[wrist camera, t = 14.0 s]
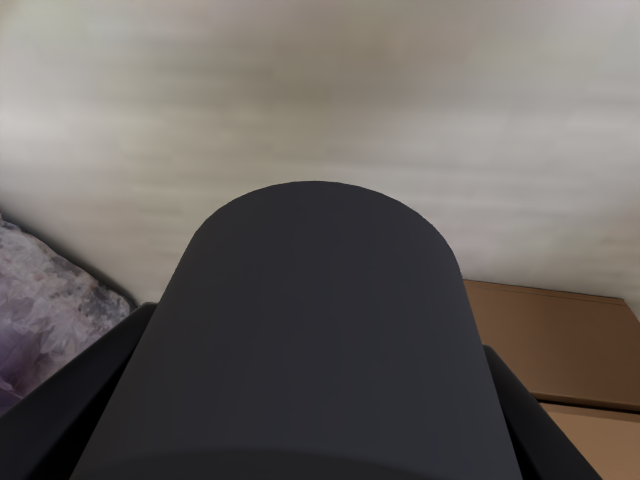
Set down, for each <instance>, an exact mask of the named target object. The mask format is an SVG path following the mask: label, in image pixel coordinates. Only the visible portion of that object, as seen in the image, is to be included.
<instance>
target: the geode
mask: <svg viewBox="0 0 640 480" xmlns="http://www.w3.org/2000/svg"><path fill="white" fill-rule="evenodd" d="M137 308H138V307H137V306H136V305H135V304H134V303H133V301H132V300H130V299H128V298H127V297H125V296H123V295H121V294H120V293H118V292H116V291H115V290H113V289H111V288H110V287H108V286H106V285H105V284H103V283H101V282H100V281H98V280H96V279H95V278H94V277H92V276H91V275H90V274H88V273H87V272H86V271H84V270H83V269H81V268H79V267H77V266H76V265H74V264H72V263H70V262H69V261H68V260H66V259H65V258H64V257H62V256H61V255H59V254H58V253H56V252H55V251H53V250H51V249H50V248H49V247H48V246H47V245H46V244H45V243H43V242H42V241H40V240H38V239H37V238H35V237H34V236H32V235H31V234H30V233H28V232H27V231H26V230H24V229H23V228H21V227H20V226H17V225H14V224H11V223H9V222H6V221H3V219H2V216H1V213H0V416H1V415H2V414H3V413H4V412H6V411H7V410H8V409H10V408H11V407H12V406H13V405H15V404H16V403H17V402H18V401H20V400H21V399H22V398H24V397H25V396H26V395H27V394H29V393H30V392H31V391H33V390H34V389H35V388H36V387H38V386H39V385H40V384H41V383H43V382H44V381H45V380H47V379H48V378H49V377H50V376H52V375H53V374H54V373H55V372H57V371H58V370H59V369H61V368H62V367H63V366H64V365H66V364H67V363H68V362H69V361H71V360H72V359H73V358H75V357H76V356H77V355H78V354H80V353H81V352H82V351H83V350H85V349H86V348H87V347H89V346H90V345H91V344H92V343H94V342H95V341H96V340H98V339H99V338H100V337H101V336H103V335H104V334H105V333H106V332H108V331H109V330H110V329H112V328H113V327H114V326H115V325H117V324H118V323H119V322H120V321H122V320H123V319H124V318H126V317H127V316H128V315H129V314H131V313H132V312H133V311H134V310H136V309H137Z"/></svg>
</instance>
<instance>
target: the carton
mask: <svg viewBox="0 0 640 480" xmlns="http://www.w3.org/2000/svg"><path fill="white" fill-rule="evenodd" d="M463 282H464V285H465V289H466V292H467V295H468V299H469V302H470V305H471V309H472V312H473V315H474V319H475V322H476V325H477V329H478V332H479V335H480V339H481V342H482V344H488V345H489V346H491V347H492V348H493V349H494V350H495V352H496V353H497V354H498V355H499V356H500V358H501V359H502V360H503V361H504V362H505V364H506V365H507V366H508V367H509V368H510V369H511V371H512V372H513V373H514V374H515V375H516V377H517V378H518V379H519V380H520V381H521V383H522V384H523V385H524V386H525V387H526V388H527V390H528V391H529V392H530V393H531V394H532V396H533V397H534V398H535V399H536V400H537V402H538V403H545V404H553V405H562V406H570V407H579V408H587V409H595V410H604V411H612V412H620V413H629V414H637V415H640V322H639V321H638V319H637V318H636V317H635V315H634V314H633V312H632V311H631V309H630V308H629V307H628V305H627V304H626V302H625V301H624V300H623V299H616V298H608V297H600V296H592V295H583V294H575V293H567V292H559V291H551V290H543V289H535V288H527V287H519V286H511V285H502V284H494V283H486V282H478V281H470V280H463Z"/></svg>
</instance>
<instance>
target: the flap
mask: <svg viewBox="0 0 640 480" xmlns="http://www.w3.org/2000/svg"><path fill="white" fill-rule="evenodd" d="M539 404H540V405H541V406H542V407H543V409H544V410H545V411H546V412H547V413H548V415H549V416H550V417H551V418H552V419H553V421H554V422H555V423H556V424H557V425H558V426H559V428H560V429H561V430H562V431H563V432H564V434H565V435H566V436H567V437H568V438H569V440H570V441H571V442H572V443H573V444H574V445H575V447H576V448H577V449H578V450H579V451H580V453H581V454H582V455H583V456H584V457H585V459H586V460H587V461H588V462H589V463H590V464H591V466H592V467H593V468H594V469H595V470H596V472H597V473H598V474H599V475H600V476H601V478H602V479H603V480H640V415H637V414H629V413H620V412H612V411H604V410H595V409H587V408H579V407H570V406H562V405H553V404H545V403H539Z"/></svg>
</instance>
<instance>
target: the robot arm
mask: <svg viewBox="0 0 640 480" xmlns="http://www.w3.org/2000/svg"><path fill="white" fill-rule="evenodd" d="M157 305H158V303H154V302H146V303H144V304H142V305H141V306H140V307H138V308H137V309H136V310H134V311H133V312H132V313H131V314H129V315H128V316H127V317H126V318H124V319H123V320H122V321H120V322H119V323H118V324H117V325H115V326H114V327H113V328H112V329H110V330H109V331H108V332H106V333H105V334H104V335H103V336H101V337H100V338H99V339H98V340H96V341H95V342H94V343H92V344H91V345H90V346H89V347H87V348H86V349H85V350H83V351H82V352H81V353H80V354H78V355H77V356H76V357H75V358H73V359H72V360H71V361H69V362H68V363H67V364H66V365H64V366H63V367H62V368H61V369H59V370H58V371H57V372H55V373H54V374H53V375H52V376H50V377H49V378H48V379H47V380H45V381H44V382H43V383H41V384H40V385H39V386H38V387H36V388H35V389H34V390H33V391H31V392H30V393H29V394H27V395H26V396H25V397H24V398H22V399H21V400H20V401H18V402H17V403H16V404H15V405H13V406H12V407H11V408H10V409H8V410H7V411H6V412H4V413H3V414H2V415H1V416H0V480H69V479H70V477H71V475H72V473H73V471H74V469H75V467H76V465H77V463H78V461H79V459H80V457H81V455H82V453H83V451H84V449H85V447H86V445H87V443H88V441H89V439H90V437H91V435H92V433H93V431H94V430H95V428H96V426H97V424H98V422H99V420H100V418H101V416H102V414H103V412H104V410H105V408H106V406H107V404H108V402H109V400H110V398H111V396H112V394H113V392H114V390H115V388H116V386H117V384H118V382H119V380H120V378H121V376H122V374H123V372H124V370H125V368H126V366H127V365H128V363H129V361H130V359H131V357H132V355H133V353H134V351H135V349H136V347H137V345H138V343H139V341H140V339H141V337H142V335H143V333H144V331H145V329H146V327H147V325H148V323H149V321H150V319H151V317H152V315H153V313H154V311H155V309H156V307H157ZM482 345H483V349H484V352H485V355H486V359H487V362H488V365H489V369H490V372H491V375H492V379H493V382H494V385H495V389H496V392H497V395H498V399H499V402H500V405H501V409H502V412H503V415H504V419H505V422H506V425H507V429H508V432H509V435H510V439H511V442H512V445H513V449H514V452H515V455H516V459H517V462H518V465H519V469H520V472H521V475H522V479H523V480H603V479H602V478H601V476H600V475H599V474H598V473H597V472H596V470H595V469H594V468H593V467H592V466H591V464H590V463H589V462H588V461H587V460H586V459H585V457H584V456H583V455H582V454H581V453H580V451H579V450H578V449H577V448H576V447H575V445H574V444H573V443H572V442H571V441H570V440H569V438H568V437H567V436H566V435H565V434H564V432H563V431H562V430H561V429H560V428H559V426H558V425H557V424H556V423H555V422H554V421H553V419H552V418H551V417H550V416H549V415H548V413H547V412H546V411H545V410H544V409H543V407H542V406H541V405H540V404H539V403H538V402H537V400H536V399H535V398H534V397H533V396H532V394H531V393H530V392H529V391H528V390H527V388H526V387H525V386H524V385H523V384H522V383H521V381H520V380H519V379H518V378H517V377H516V375H515V374H514V373H513V372H512V371H511V369H510V368H509V367H508V366H507V365H506V364H505V362H504V361H503V360H502V359H501V358H500V356H499V355H498V354H497V353H496V352H495V350H494V349H493V348H492V347H491V346H489V345H488V344H482Z"/></svg>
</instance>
